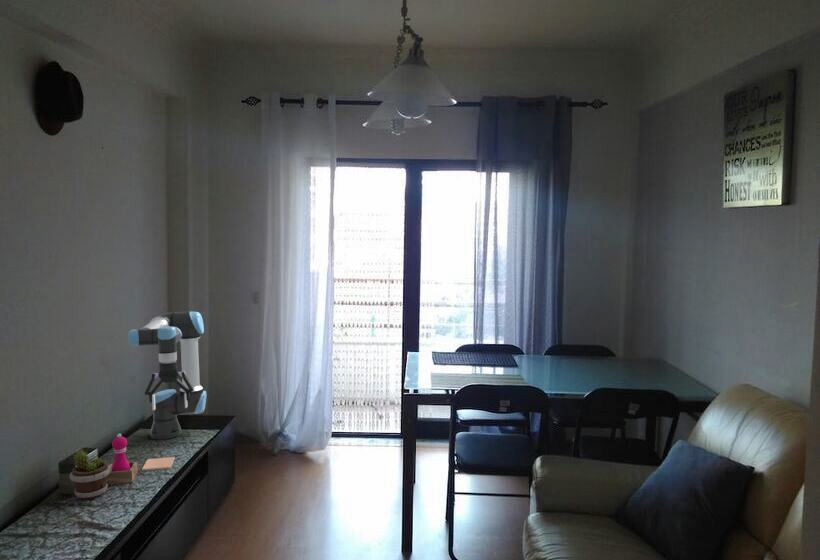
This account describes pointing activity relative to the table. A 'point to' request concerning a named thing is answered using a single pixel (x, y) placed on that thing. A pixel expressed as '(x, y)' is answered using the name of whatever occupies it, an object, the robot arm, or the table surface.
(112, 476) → the wooden box
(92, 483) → the flowerpot
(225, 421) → the table surface
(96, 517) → the table surface
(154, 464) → the plate
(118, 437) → the pepper mill
